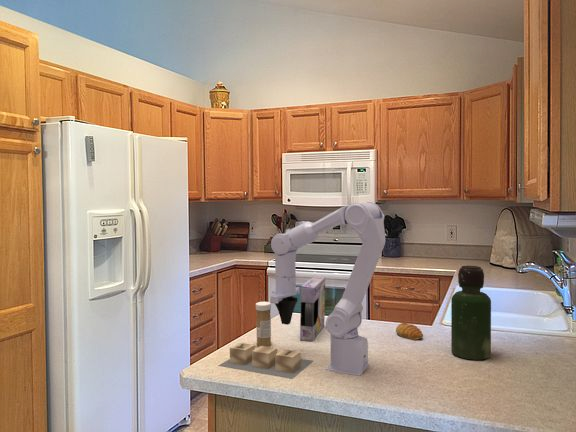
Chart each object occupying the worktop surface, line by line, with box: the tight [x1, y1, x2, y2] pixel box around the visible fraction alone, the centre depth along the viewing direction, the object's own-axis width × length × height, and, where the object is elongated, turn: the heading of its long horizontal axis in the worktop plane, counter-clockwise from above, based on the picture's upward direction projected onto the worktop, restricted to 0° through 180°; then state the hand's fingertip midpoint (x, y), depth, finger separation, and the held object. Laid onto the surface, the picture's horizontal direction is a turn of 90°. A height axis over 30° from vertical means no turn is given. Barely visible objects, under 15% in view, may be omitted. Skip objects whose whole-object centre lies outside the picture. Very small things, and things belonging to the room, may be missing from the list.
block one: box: [275, 348, 302, 373], centre depth 121 cm, size 5×5×4 cm
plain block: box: [252, 346, 278, 369], centre depth 124 cm, size 5×5×4 cm
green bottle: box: [450, 265, 492, 361], centre depth 131 cm, size 10×10×25 cm
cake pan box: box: [299, 276, 326, 342], centre depth 154 cm, size 19×5×18 cm, turn 164°
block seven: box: [229, 342, 256, 365], centre depth 127 cm, size 5×5×4 cm
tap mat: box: [217, 358, 315, 380], centre depth 125 cm, size 22×14×1 cm, turn 64°
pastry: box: [395, 322, 424, 341], centre depth 150 cm, size 9×7×4 cm
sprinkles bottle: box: [255, 301, 272, 348], centre depth 140 cm, size 5×5×14 cm
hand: (286, 323), depth 131 cm, fingers closed
